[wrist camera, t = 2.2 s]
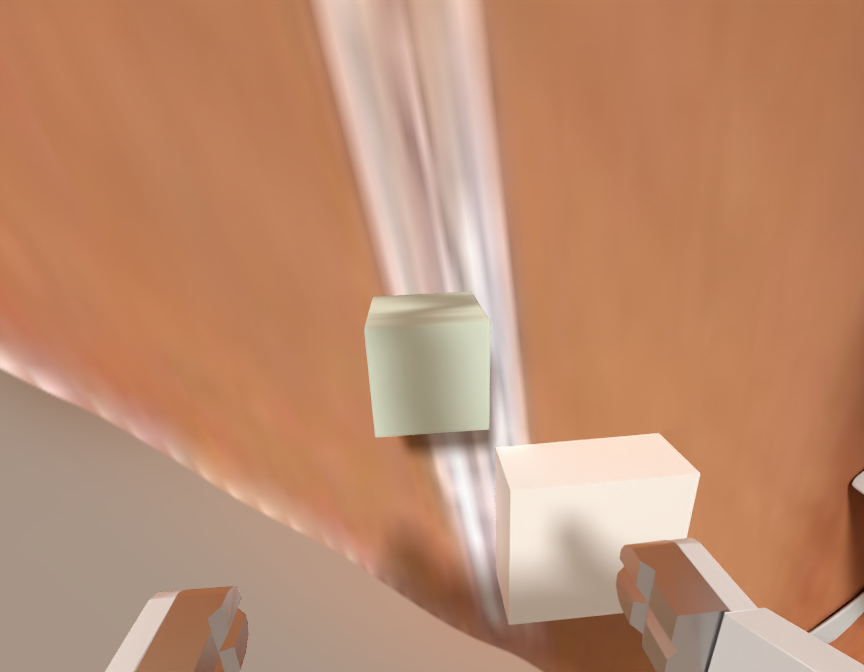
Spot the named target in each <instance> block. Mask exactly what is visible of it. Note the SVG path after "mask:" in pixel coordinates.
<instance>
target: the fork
mask: <svg viewBox="0 0 864 672" xmlns="http://www.w3.org/2000/svg"><path fill="white" fill-rule="evenodd" d="M863 612H864V592H863V593H862V594H860V595H859V596H858V597H857V598H855V599H854V600H853V601H851V602H850V603H849V604H847V605H846V606H845V607H843V608H842V609H841V610H839V611H838V612H837V613H835V614H834V615H833V616H831V617H830V618H829V619H827V620H826V621H824V622H823V623H821V624H820V625H818V626H817V627H816V628H814V629H813V630H811V631H809V632H808V633H809V634H811V635H813V636H815V637H816V638H818V639H820V640H821V641H823V642H825V643H827V644H828V643H830V642H831V641H833V640H835V639H836V638H837V637H838V636H840V635H841V634H842V633H843V632H844V631H845V630H846V629H847V628H848V627H850V626H851V625H852V624H853V622H854V621H855V620H856V619H857V618H858V617H859V616H860V615H861V614H862V613H863Z"/></svg>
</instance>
